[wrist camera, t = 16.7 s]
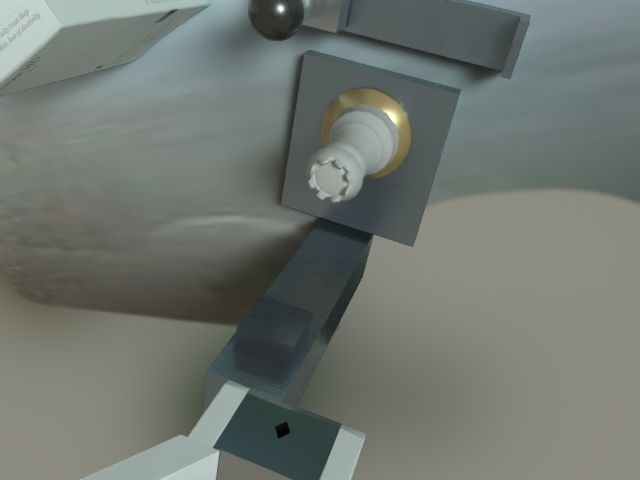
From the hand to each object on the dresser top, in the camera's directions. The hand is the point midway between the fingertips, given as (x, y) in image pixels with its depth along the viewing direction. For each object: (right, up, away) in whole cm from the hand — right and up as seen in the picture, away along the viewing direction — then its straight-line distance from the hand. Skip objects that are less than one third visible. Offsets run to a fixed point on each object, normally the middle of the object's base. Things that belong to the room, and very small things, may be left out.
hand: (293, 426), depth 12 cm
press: (+4, +10, +28) cm, 30 cm away
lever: (0, +18, +23) cm, 29 cm away
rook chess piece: (+4, +11, +26) cm, 28 cm away
